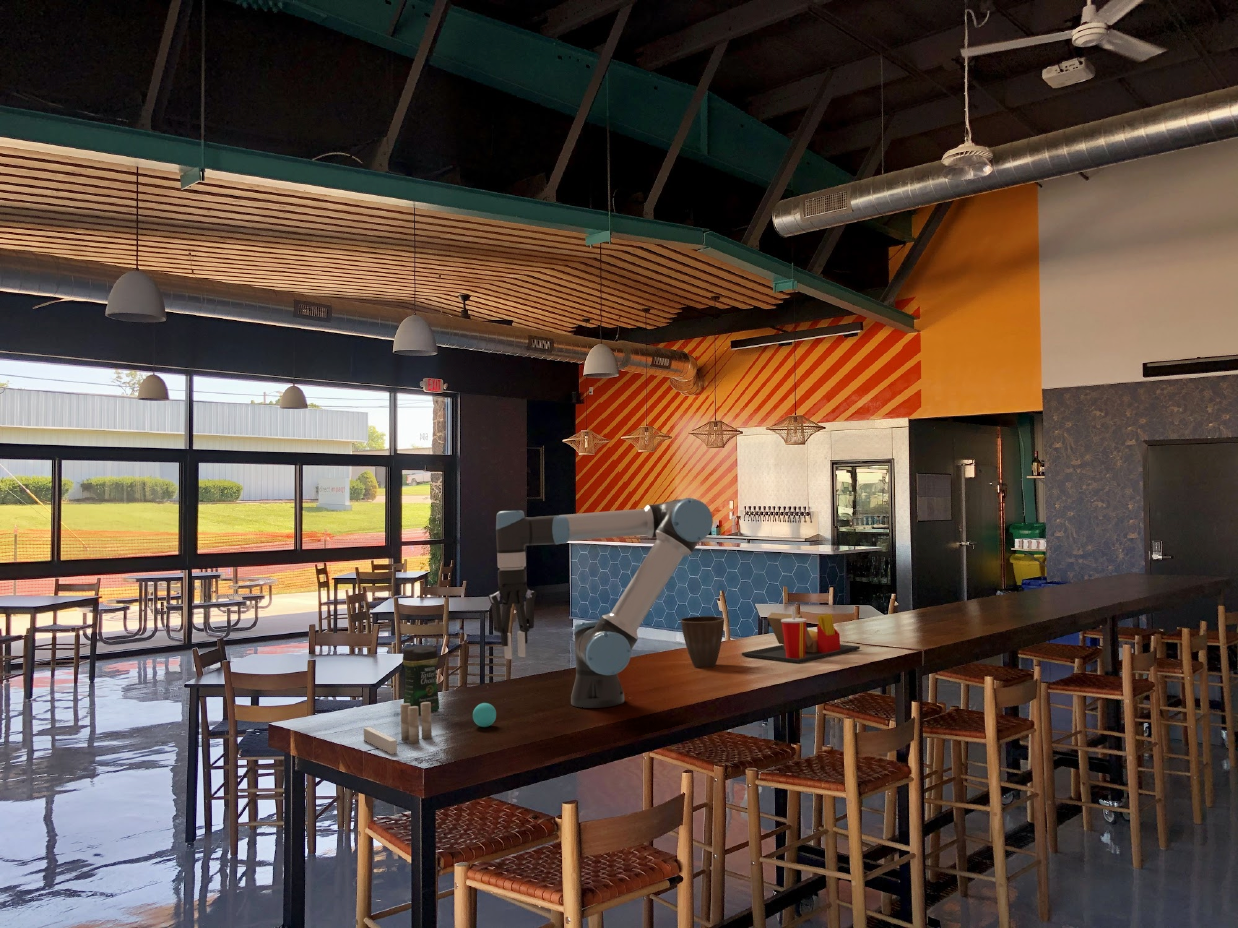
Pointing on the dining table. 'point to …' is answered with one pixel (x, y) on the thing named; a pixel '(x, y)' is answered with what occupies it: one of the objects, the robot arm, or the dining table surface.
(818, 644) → the fast food meal
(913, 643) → the dining table surface
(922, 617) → the dining table surface
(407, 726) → the pin
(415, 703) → the coffee jar
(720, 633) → the plant pot
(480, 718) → the ball
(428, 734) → the front pin
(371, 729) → the back wall
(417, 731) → the pin
